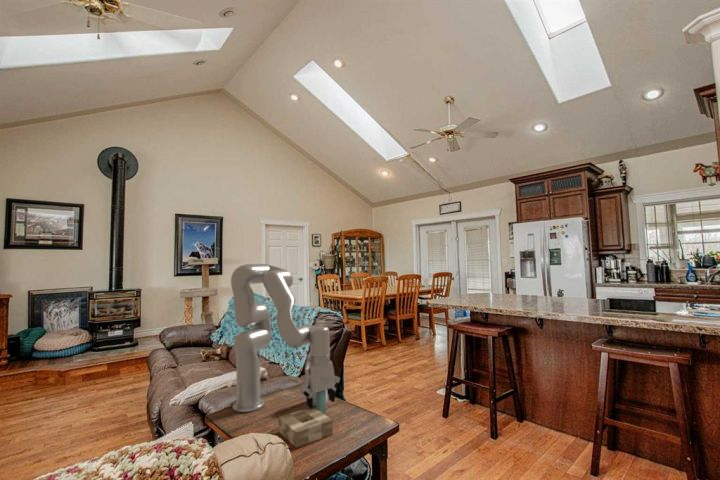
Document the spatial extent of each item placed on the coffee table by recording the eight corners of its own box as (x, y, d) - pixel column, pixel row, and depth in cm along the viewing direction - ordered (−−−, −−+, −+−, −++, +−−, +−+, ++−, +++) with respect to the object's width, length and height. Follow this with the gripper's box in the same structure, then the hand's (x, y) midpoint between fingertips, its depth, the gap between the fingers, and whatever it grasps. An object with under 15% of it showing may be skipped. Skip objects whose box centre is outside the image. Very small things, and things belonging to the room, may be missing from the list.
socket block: (278, 431, 124) (278, 417, 124) (313, 420, 132) (313, 406, 133) (296, 448, 113) (296, 432, 113) (332, 434, 121) (332, 419, 122)
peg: (314, 418, 134) (314, 386, 135) (323, 415, 136) (322, 384, 137) (319, 421, 131) (319, 389, 132) (327, 419, 133) (327, 387, 134)
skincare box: (328, 400, 151) (327, 363, 152) (325, 406, 145) (324, 368, 145) (309, 399, 152) (308, 363, 153) (305, 406, 145) (304, 368, 146)
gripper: (304, 365, 127) (305, 414, 126) (344, 357, 137) (345, 401, 136) (295, 361, 133) (296, 407, 132) (333, 353, 143) (334, 395, 142)
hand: (321, 404), depth 134 cm, fingers open, 9 cm apart
